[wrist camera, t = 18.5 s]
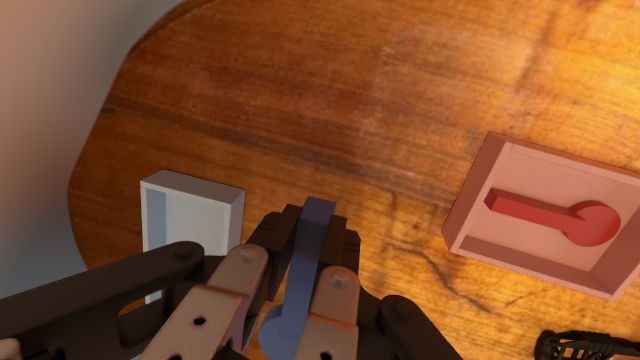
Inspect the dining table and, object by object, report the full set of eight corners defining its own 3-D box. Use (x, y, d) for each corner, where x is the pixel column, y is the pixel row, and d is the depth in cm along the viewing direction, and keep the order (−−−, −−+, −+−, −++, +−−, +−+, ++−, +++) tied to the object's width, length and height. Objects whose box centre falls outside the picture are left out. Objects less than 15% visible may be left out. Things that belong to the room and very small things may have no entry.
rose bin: (440, 231, 29) (449, 252, 26) (489, 131, 25) (506, 141, 22) (588, 275, 28) (615, 302, 25) (662, 179, 24) (705, 197, 21)
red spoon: (475, 212, 28) (483, 224, 25) (495, 172, 26) (505, 182, 24) (595, 246, 27) (613, 261, 25) (623, 207, 25) (644, 220, 23)
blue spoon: (281, 189, 14) (266, 210, 12) (364, 208, 14) (362, 233, 12) (260, 343, 19) (246, 378, 17) (323, 361, 18) (316, 398, 16)
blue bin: (163, 169, 32) (139, 180, 29) (245, 189, 31) (231, 204, 28) (165, 335, 42) (147, 358, 38) (228, 354, 41) (215, 379, 38)
